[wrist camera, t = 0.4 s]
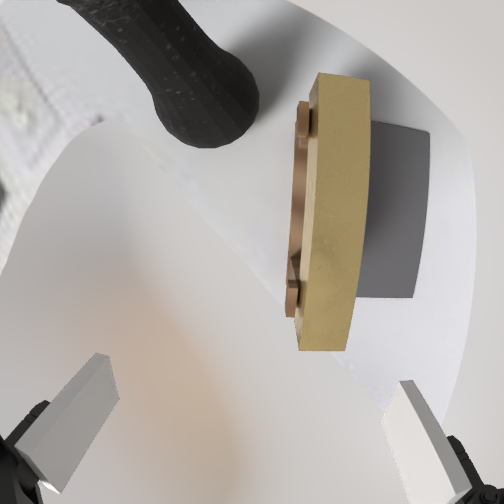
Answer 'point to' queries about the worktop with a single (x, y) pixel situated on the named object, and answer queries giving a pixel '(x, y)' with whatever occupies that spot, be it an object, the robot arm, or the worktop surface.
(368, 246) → the mat
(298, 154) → the rack
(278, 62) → the worktop surface
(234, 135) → the bottle
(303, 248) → the rail
